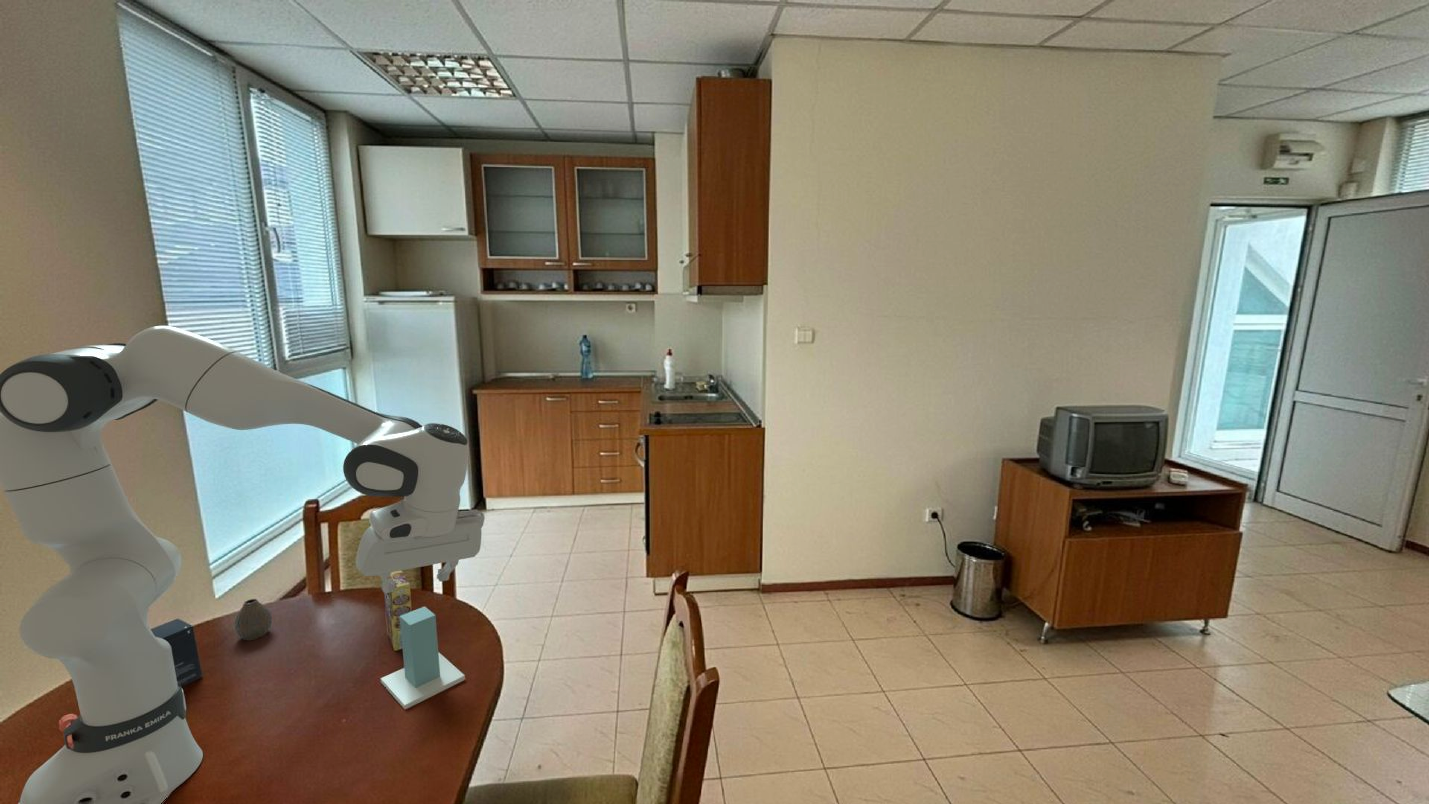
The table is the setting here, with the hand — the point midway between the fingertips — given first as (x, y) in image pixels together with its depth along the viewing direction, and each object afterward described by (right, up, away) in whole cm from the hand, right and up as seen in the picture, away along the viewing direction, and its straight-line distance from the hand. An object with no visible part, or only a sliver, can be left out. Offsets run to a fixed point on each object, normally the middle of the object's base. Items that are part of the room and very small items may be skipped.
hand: (416, 584), depth 104 cm
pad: (-7, -26, +17) cm, 32 cm away
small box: (-60, -26, +13) cm, 66 cm away
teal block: (-7, -25, +17) cm, 31 cm away
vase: (-55, -22, +33) cm, 68 cm away
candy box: (-20, -23, +32) cm, 44 cm away
